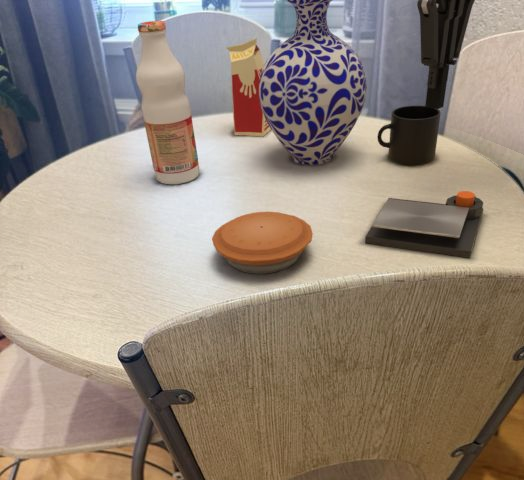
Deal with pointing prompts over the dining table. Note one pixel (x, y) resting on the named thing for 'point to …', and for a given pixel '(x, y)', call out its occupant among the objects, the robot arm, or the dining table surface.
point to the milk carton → (247, 89)
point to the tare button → (465, 199)
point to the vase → (312, 87)
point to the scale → (433, 242)
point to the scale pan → (422, 218)
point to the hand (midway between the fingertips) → (434, 106)
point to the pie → (262, 241)
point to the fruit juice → (165, 108)
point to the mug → (412, 134)
